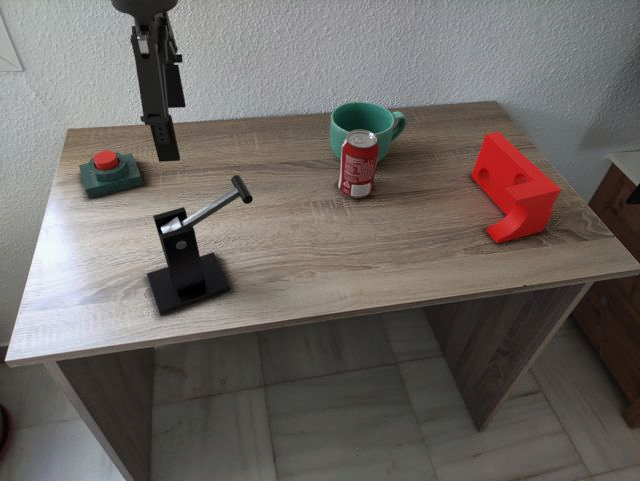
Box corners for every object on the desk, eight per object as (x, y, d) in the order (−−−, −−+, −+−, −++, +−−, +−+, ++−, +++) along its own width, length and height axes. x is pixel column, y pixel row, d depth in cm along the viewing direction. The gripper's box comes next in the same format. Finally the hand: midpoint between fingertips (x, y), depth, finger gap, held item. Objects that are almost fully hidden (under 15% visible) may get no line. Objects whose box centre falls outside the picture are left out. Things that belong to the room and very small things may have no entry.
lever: (243, 181, 69) (236, 171, 67) (256, 202, 66) (248, 191, 64) (167, 229, 68) (157, 220, 66) (176, 253, 65) (166, 244, 63)
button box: (88, 198, 87) (81, 181, 84) (82, 174, 92) (75, 157, 89) (143, 184, 91) (138, 168, 88) (134, 161, 95) (129, 145, 92)
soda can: (373, 201, 90) (381, 150, 81) (338, 200, 90) (343, 148, 81) (371, 179, 95) (379, 128, 86) (337, 177, 95) (342, 126, 86)
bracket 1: (214, 256, 79) (203, 194, 69) (230, 291, 74) (221, 229, 64) (148, 278, 75) (126, 215, 65) (160, 315, 70) (138, 254, 60)
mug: (339, 178, 94) (343, 139, 88) (320, 143, 103) (323, 104, 96) (413, 166, 98) (422, 127, 92) (390, 133, 107) (397, 95, 100)
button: (98, 173, 87) (95, 165, 85) (94, 161, 89) (91, 153, 88) (120, 167, 88) (118, 160, 87) (116, 156, 91) (113, 148, 89)
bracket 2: (566, 188, 79) (516, 200, 76) (542, 231, 87) (496, 243, 84) (502, 130, 91) (457, 139, 88) (486, 173, 98) (444, 182, 95)
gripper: (163, 11, 44) (196, 184, 60) (180, -63, 61) (202, 87, 77) (79, 11, 43) (135, 188, 59) (120, -64, 60) (155, 88, 76)
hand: (173, 131), depth 68 cm, fingers open, 13 cm apart
